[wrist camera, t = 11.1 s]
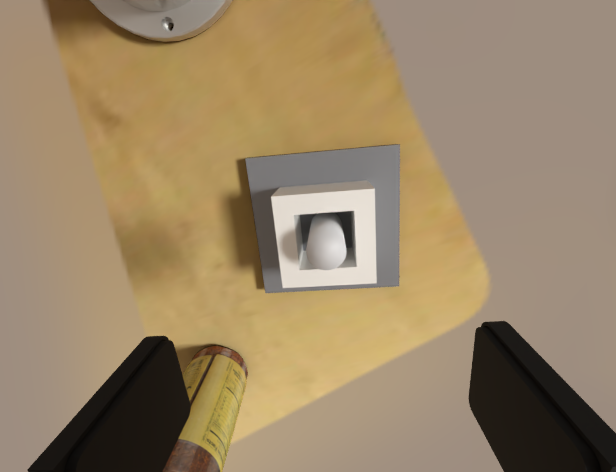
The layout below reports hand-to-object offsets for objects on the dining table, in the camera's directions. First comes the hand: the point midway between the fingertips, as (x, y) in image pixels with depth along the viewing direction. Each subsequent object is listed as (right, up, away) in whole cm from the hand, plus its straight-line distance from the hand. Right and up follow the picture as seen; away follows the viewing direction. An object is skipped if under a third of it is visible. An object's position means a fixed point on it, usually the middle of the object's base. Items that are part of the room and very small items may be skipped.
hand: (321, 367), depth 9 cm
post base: (+1, +5, +17) cm, 17 cm away
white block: (+1, +5, +16) cm, 16 cm away
